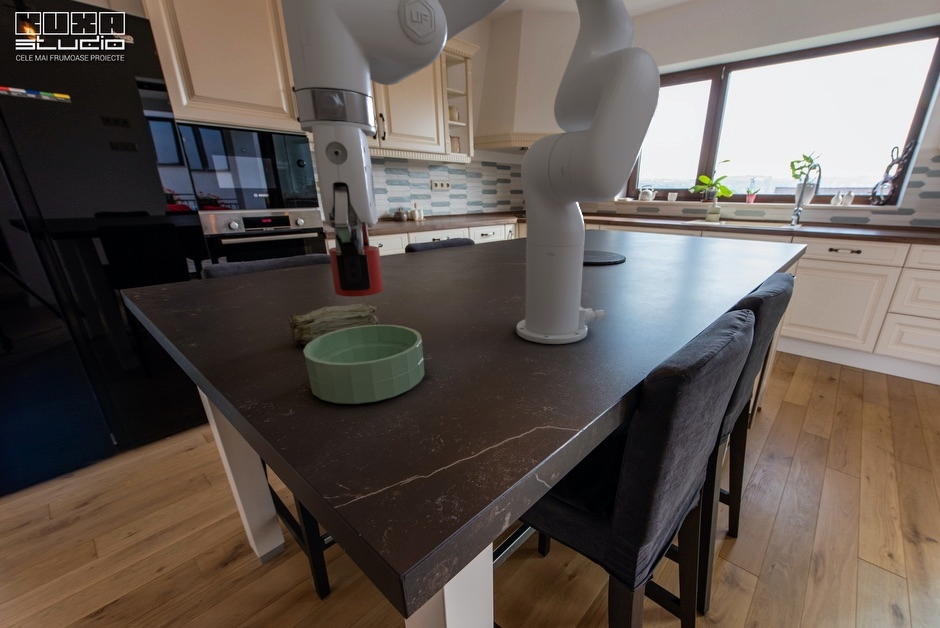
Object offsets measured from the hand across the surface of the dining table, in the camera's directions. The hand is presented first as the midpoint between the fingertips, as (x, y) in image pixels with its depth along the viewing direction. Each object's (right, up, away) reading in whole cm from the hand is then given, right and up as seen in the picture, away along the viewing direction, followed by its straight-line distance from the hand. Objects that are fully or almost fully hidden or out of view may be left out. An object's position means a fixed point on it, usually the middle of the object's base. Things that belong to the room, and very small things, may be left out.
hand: (358, 282), depth 48 cm
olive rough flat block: (-12, -7, +20) cm, 24 cm away
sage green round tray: (0, -12, +4) cm, 13 cm away
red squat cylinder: (0, -1, 0) cm, 1 cm away
